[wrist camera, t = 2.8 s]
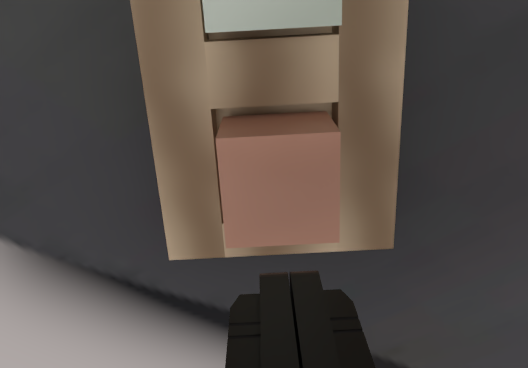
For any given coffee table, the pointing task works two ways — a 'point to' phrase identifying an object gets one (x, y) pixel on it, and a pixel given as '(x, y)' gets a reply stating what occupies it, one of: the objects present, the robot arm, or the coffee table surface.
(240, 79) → the wooden slotted tray
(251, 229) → the terracotta button
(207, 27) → the sage button
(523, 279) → the coffee table surface
